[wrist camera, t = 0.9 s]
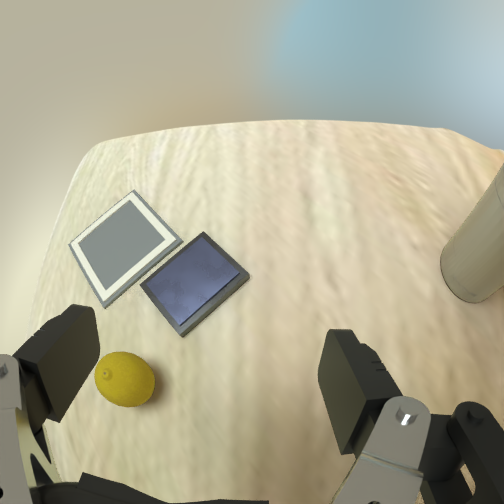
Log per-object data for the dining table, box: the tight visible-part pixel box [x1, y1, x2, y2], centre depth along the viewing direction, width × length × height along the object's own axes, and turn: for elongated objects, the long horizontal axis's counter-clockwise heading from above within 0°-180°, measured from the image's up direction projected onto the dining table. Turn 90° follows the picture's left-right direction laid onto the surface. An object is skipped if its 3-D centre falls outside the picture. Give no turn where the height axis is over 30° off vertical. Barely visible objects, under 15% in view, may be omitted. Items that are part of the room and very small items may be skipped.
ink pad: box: [140, 231, 250, 337], centre depth 34 cm, size 10×8×2 cm
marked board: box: [68, 190, 183, 309], centre depth 38 cm, size 13×13×1 cm
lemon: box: [95, 352, 155, 407], centre depth 26 cm, size 6×6×8 cm
